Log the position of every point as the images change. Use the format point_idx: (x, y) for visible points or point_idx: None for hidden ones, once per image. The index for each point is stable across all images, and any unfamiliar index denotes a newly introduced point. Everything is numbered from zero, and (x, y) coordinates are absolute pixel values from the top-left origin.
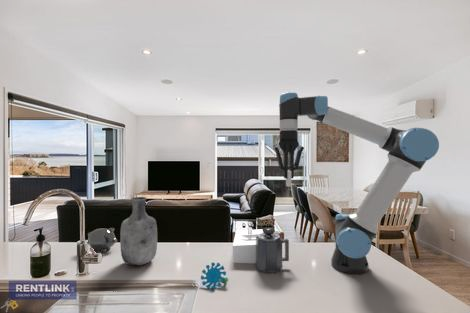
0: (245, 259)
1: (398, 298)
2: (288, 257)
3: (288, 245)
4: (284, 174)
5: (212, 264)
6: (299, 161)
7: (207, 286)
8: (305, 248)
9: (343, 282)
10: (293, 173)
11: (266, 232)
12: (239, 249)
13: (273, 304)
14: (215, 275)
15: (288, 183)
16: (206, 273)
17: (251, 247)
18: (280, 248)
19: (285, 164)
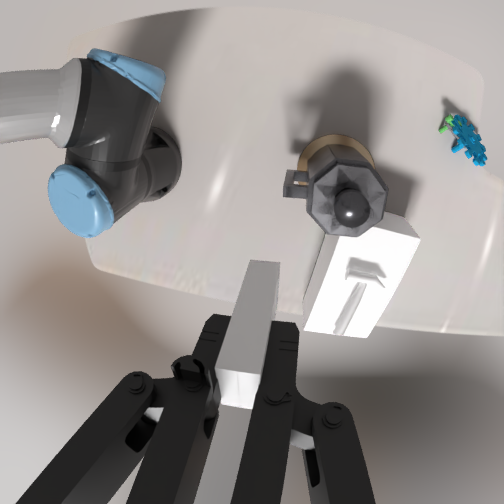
0: (384, 215)
1: (126, 44)
2: (287, 172)
3: (285, 181)
4: (296, 361)
5: (477, 159)
6: (74, 435)
7: (472, 127)
8: (209, 267)
9: (188, 92)
10: (194, 350)
11: (364, 196)
12: (403, 230)
13: (366, 34)
14: (468, 135)
15: (271, 278)
16: (480, 149)
17: (377, 224)
18: (316, 166)
19: (279, 460)
